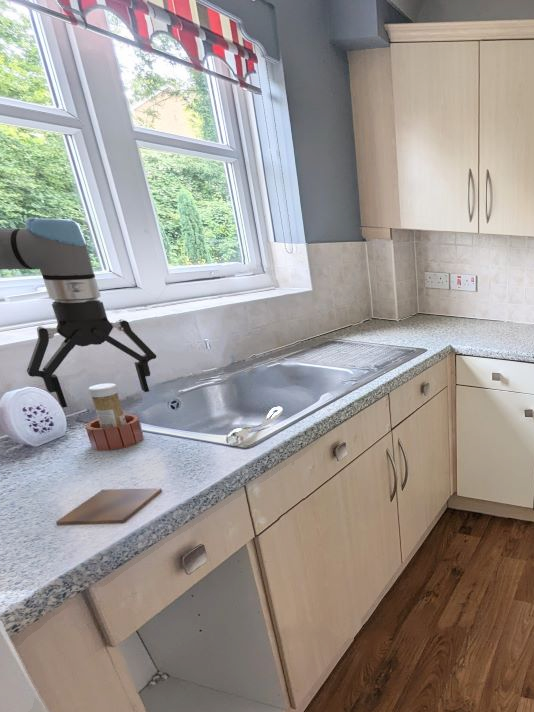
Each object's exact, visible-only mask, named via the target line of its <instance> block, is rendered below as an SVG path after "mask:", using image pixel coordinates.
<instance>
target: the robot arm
mask: <svg viewBox="0 0 534 712" xmlns="http://www.w3.org/2000/svg"><path fill="white" fill-rule="evenodd" d="M24 225H25V226H24V227H22V228H20V227H19V228H9V227H8V228H7V227H0V271H1V270H2V271H3V270H39V271H40V273H41V277H42V279H43V283H44V285H45V289H46V291H47V295H48V298H49V299H50V300H51V301H52V303H51V306H52V307H51V308H52V310H53V314H54V316H55V319H56V322H57V323H56V324H57V325H56V327H44V326H43V325H42V326H37V328H36V332H37V340H36V343H35V346H34V349H33V351H32V355H31V357H30V360H29V363H28V366H27V368H26V373H27V375H28V376H30V377H32V378H33V377H34V378H35V377H36V378H41V379H42V380H43V383H44V386H45V389H46V390H47V392H48V393H50V394H51V393H55V395H56V397H57V400H58V403H59V405H60V407H61V408H63V409H64V408H68V404H67V401H66V398H65V395H64V392H63V390H62V387H61V384H60V381H59V378H58V376H57V374H55V372H56V371H57V369H58V368H59V366H60V365H61V364H62V363H63V361H64V360H65V358H66V357H68V355H69V353H70V352H71V351H72V350H73V349H74V348H75V347H76V346H79V347H87V346H90V345H94V346H98V345H102V344H104V343H105V342H107V343H108V344H110V345H111V346H113V347H115V348H117V349H119V350H120V351H121V352H123V353H125V354H127V355H128V356H130V357H131V358H133V359H135V360H137V361H135V362H133V363H134V367H135V371H136V374H137V377H138V381H139V385H140V389H141V390H142V391H143V392H144V393H148V392H150V388H149V385H148V381H147V378H146V377H150V376H151V370H150V366H149V362H150V361H152V360H156V358H157V354H155V353H154V351H153V350H152V349H151V348H150V347H149V346H148V345H147V344H146V343H145V342H144V341H143V340H142V339H141V338H140V337H139V336H138V335H137V334H136V333H135V332H134V331H133V330H132V328H131V325H130V323H129V322H128V321H127V320H125V319H123V318H121V319H119V320H116V321H112V322H110V320H109V319H108V317H107V313H106V309H105V306H104V302H103V300H101V299H99V298H101V292H100V289H99V285H98V282H97V279H96V275H95V273H94V272H95V271H94V268H93V265H92V261H91V256H90V253H89V249H88V243H87V242H86V240H85V237H84V234H83V232H82V229H81V225H79V223H77V221H75V220H72V219H65V218H40V217H39V218H38V217H28V218H26V219H25V220H24ZM114 328H116V329H117V330H118V331H119V332H123V333H124V335H126V336H127V337H128V338H129V339H130V341H132V343H134V344H135V345H136V347H137V348H139V349H140V350H141V351H142V352H143V353H144V354H143V355H142V354H139V353H138V352H136V351H135V350H133V349H132V348H130V347H128V346H127V345H125V344H123V343H122V342H121V341H118V340H117V339H115V338H114V337H112V336H110V334H111V332H112V331H113V329H114ZM55 334H58V335H60V336H62V337H63V338H65V339H64V340H63V341H62V342H61V343H60V346H59V347H58V349H57V350H56V351H55V352H54V353H53V355H52V356H51V358H50V359H49V360H48V361H47V362H46V364H45V365H44V366H43V368H42V369H40V368H41V365H42V363H43V360H44V357H45V354H46V351H47V348H48V345H49V344H50V343H49V342H50V339H53V338H54V336H55Z"/></svg>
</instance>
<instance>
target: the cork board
mask: <svg viewBox="0 0 534 712" xmlns="http://www.w3.org/2000/svg"><path fill="white" fill-rule="evenodd" d="M162 491H163V490H162V488H160V487H159V488H119V489H118V488H117V489H116V488H113V489H111V488H109V489H101V490H99V491H98V492H97V493H95V494H94V495H93V496H91V497H89V498H88V499H87V500H85V501H84V502H82V503H81V504H80V505H78V506H76V507H75V508H74V509H72V510H71V511H69V512H68V513H66V514H65V515H64V516H62V517H61V518H59V519H58V520H56V522H55V523H56V525H57V526H58V525H59V526H60V525H63V526H64V525H90V524H91V525H92V524H93V525H94V524H124V523H126V521H128V520H129V519H130V518H131V517H133V516H134V515H135V514H136V513H138V512H139V511H140V510H141V509H142V508H143V507H145V506H147V504H148V503H149V502H151V501H152V500H153V499H155V498H156V497H157V496H158V495H159V494H160V493H162Z"/></svg>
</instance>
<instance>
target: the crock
mask: <svg viewBox="0 0 534 712" xmlns="http://www.w3.org/2000/svg"><path fill="white" fill-rule="evenodd" d="M124 416H125V419H126V422H127V424H123V425H120V426H116V427H109V428H101V426H100V423H99V420H98V418H96V419H94V420H91V421H89V422H88V423H86V425H85V430H86V434H87V437H88V440H89V443H90V446H91V448H92V449H94V450H96V451H110V450H111V451H113V450H119V449H124V448H127V447H130V446H133V445H136V444H138V443H140V442H142V441H144V437H145V435H144V431H143V428H142V424H141V420H140V417H139V416H138V415H136V414H132V413H131V414H130V413H124Z"/></svg>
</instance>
